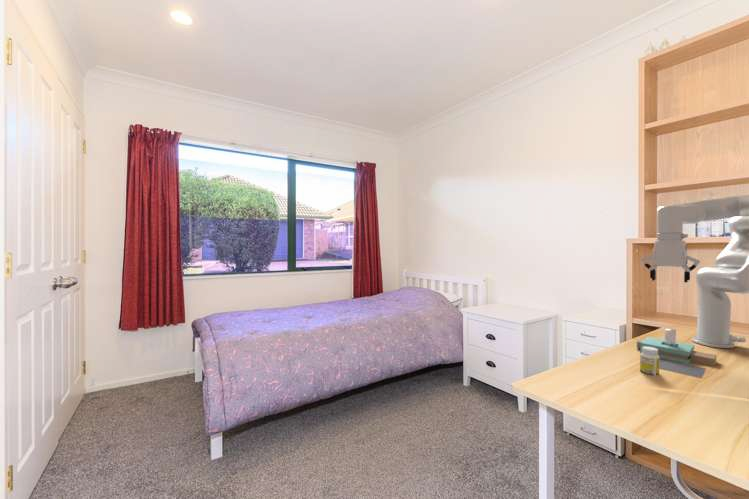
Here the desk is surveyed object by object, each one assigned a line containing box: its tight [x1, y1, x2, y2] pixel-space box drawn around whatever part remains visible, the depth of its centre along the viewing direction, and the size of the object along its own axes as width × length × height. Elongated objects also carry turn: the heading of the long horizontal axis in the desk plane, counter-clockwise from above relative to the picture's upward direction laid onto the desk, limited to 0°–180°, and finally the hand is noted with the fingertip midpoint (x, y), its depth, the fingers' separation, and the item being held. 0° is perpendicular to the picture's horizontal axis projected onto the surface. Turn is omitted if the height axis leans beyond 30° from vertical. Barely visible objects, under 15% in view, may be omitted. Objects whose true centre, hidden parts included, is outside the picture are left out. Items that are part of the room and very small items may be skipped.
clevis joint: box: [636, 336, 718, 367], centre depth 125 cm, size 22×12×4 cm, turn 41°
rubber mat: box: [659, 357, 707, 379], centre depth 114 cm, size 12×12×1 cm
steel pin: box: [664, 327, 677, 347], centre depth 126 cm, size 3×3×10 cm
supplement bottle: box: [639, 346, 660, 376], centre depth 110 cm, size 5×5×8 cm
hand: (669, 281), depth 134 cm, fingers open, 9 cm apart
